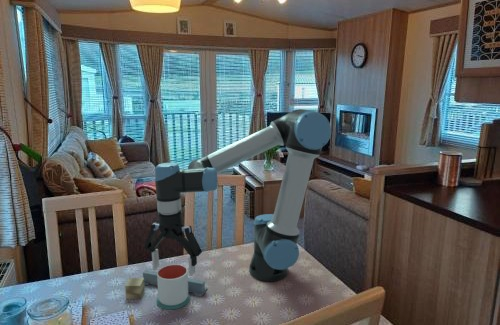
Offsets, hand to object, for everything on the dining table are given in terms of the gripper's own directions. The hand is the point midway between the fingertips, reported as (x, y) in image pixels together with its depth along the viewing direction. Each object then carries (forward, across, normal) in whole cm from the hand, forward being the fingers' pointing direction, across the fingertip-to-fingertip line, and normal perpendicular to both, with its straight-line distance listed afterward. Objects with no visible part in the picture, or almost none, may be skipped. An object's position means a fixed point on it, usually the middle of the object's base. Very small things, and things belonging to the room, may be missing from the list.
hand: (174, 271), depth 115 cm
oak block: (+10, +15, +2) cm, 18 cm away
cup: (+10, +1, 0) cm, 10 cm away
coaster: (+10, +1, 0) cm, 10 cm away
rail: (+10, +5, -7) cm, 13 cm away
